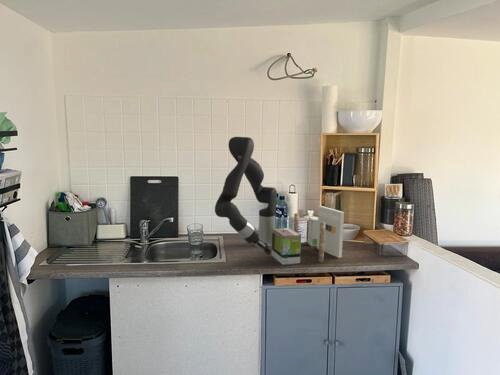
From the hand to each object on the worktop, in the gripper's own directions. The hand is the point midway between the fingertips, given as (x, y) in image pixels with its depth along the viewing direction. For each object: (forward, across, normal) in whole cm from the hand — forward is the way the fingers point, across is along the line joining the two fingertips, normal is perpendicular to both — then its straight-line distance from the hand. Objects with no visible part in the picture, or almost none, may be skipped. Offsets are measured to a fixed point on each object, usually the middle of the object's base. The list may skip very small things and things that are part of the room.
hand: (269, 252), depth 184 cm
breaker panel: (+30, -2, -23) cm, 37 cm away
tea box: (+11, 0, -3) cm, 11 cm away
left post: (+20, +11, -13) cm, 27 cm away
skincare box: (+32, +14, -25) cm, 42 cm away
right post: (+20, -11, -13) cm, 27 cm away
